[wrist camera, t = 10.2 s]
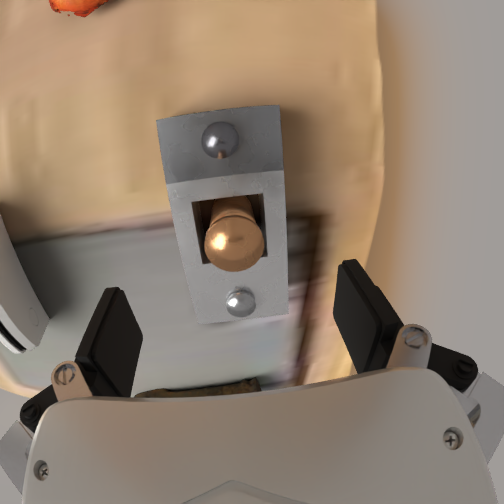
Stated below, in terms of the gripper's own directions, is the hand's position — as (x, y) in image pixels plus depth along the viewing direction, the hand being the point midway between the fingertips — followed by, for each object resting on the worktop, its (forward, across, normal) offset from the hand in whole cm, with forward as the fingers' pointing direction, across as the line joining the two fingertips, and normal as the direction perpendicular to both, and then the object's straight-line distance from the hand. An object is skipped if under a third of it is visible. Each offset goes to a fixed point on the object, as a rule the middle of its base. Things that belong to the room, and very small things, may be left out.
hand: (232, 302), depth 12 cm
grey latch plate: (+13, 0, +1) cm, 13 cm away
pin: (+13, 0, +1) cm, 13 cm away
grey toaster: (+14, +26, +4) cm, 30 cm away
